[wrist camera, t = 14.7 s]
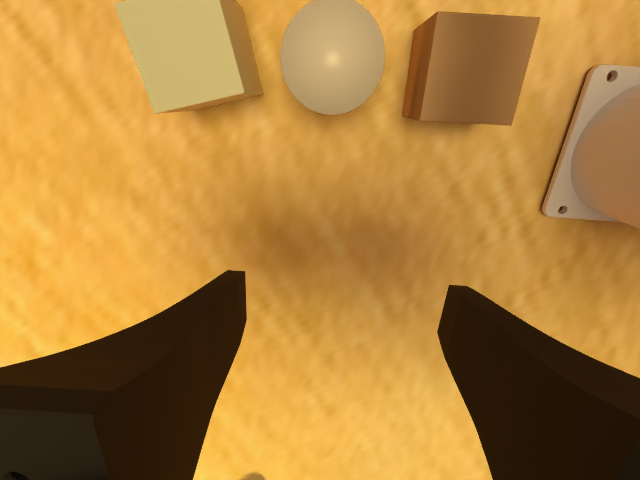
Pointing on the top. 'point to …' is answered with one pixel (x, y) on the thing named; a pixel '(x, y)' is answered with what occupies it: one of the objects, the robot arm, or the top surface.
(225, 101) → the sage block
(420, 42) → the walnut block
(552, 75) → the top surface
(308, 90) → the grey cylinder
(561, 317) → the top surface
